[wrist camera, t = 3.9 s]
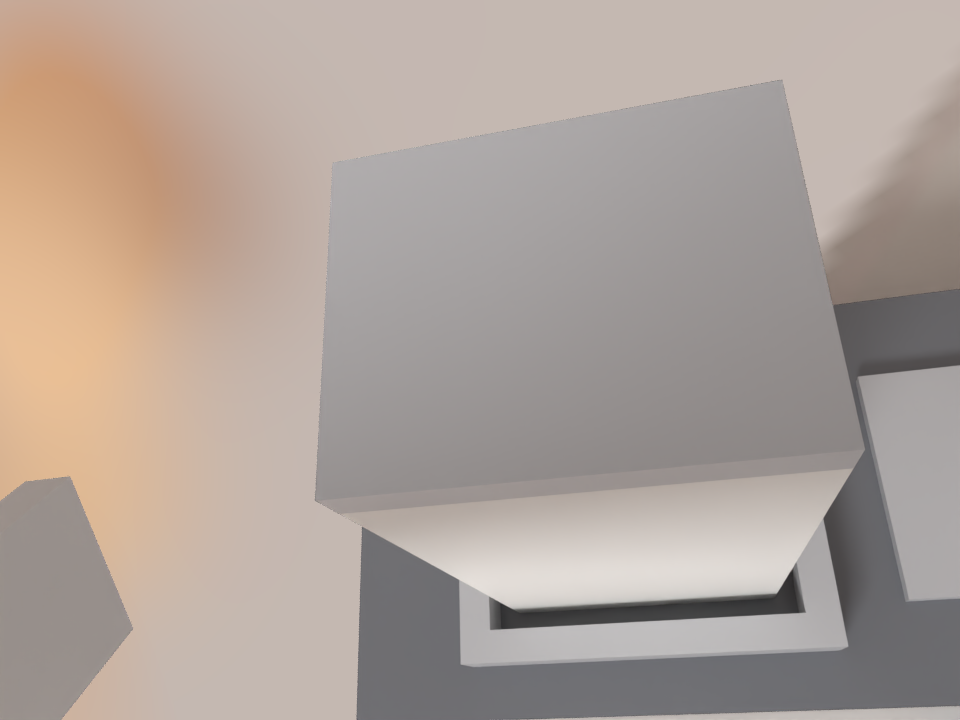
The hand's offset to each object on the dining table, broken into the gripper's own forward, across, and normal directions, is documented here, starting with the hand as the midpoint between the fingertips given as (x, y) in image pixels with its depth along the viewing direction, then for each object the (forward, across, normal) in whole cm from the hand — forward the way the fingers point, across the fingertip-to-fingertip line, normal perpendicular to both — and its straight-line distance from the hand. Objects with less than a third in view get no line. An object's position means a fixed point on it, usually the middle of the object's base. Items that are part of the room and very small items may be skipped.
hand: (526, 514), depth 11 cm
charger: (+6, +1, -4) cm, 7 cm away
